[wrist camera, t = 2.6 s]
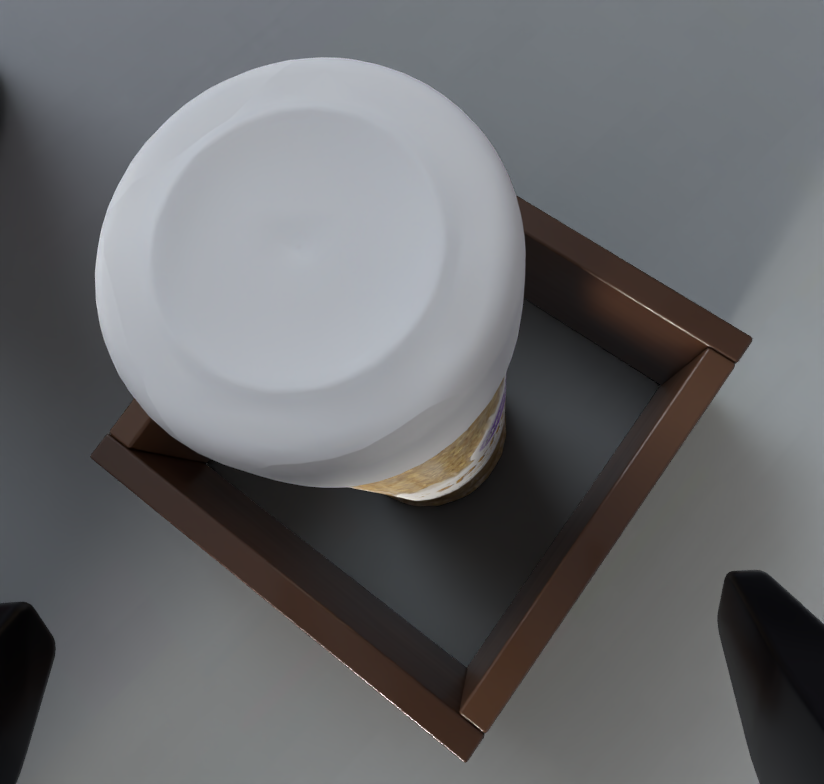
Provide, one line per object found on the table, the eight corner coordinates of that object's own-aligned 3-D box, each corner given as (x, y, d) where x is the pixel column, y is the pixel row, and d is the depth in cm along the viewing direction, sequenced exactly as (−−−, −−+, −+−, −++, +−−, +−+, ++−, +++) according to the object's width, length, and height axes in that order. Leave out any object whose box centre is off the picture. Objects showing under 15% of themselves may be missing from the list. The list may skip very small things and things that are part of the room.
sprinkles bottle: (508, 506, 19) (536, 478, 6) (347, 506, 20) (53, 479, 7) (504, 346, 20) (522, 18, 7) (350, 351, 21) (94, 52, 7)
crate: (473, 706, 18) (465, 765, 14) (175, 470, 21) (88, 456, 16) (696, 379, 19) (755, 337, 15) (387, 185, 21) (359, 99, 17)
